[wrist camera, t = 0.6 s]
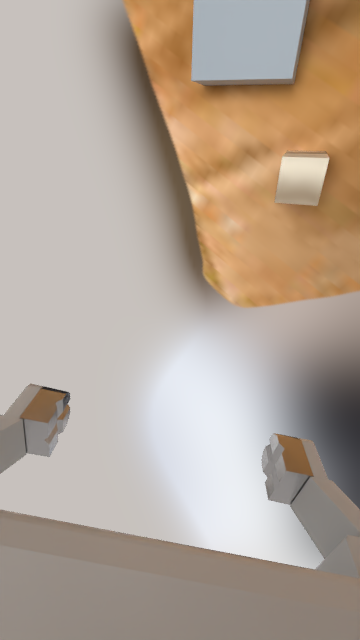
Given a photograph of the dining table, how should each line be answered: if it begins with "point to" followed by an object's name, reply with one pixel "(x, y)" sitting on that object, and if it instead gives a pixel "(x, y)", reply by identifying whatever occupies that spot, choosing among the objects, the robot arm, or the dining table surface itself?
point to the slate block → (247, 41)
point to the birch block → (301, 177)
